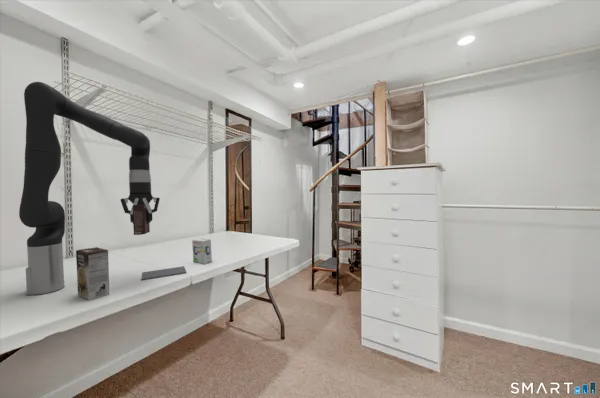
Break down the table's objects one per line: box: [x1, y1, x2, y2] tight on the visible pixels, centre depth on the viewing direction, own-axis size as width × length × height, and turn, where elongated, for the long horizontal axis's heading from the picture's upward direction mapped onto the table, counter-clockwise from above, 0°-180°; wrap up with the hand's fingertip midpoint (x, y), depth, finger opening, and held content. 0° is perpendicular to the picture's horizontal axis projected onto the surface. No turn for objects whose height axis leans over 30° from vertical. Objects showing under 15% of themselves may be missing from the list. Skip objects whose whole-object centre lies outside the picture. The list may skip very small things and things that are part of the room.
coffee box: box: [75, 247, 110, 301], centre depth 89 cm, size 9×6×16 cm
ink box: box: [191, 237, 213, 265], centre depth 129 cm, size 9×5×12 cm, turn 62°
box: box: [132, 204, 151, 236], centre depth 104 cm, size 6×4×12 cm
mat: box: [140, 265, 187, 281], centre depth 112 cm, size 17×10×1 cm, turn 120°
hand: (141, 222), depth 104 cm, fingers closed on box, 5 cm apart
